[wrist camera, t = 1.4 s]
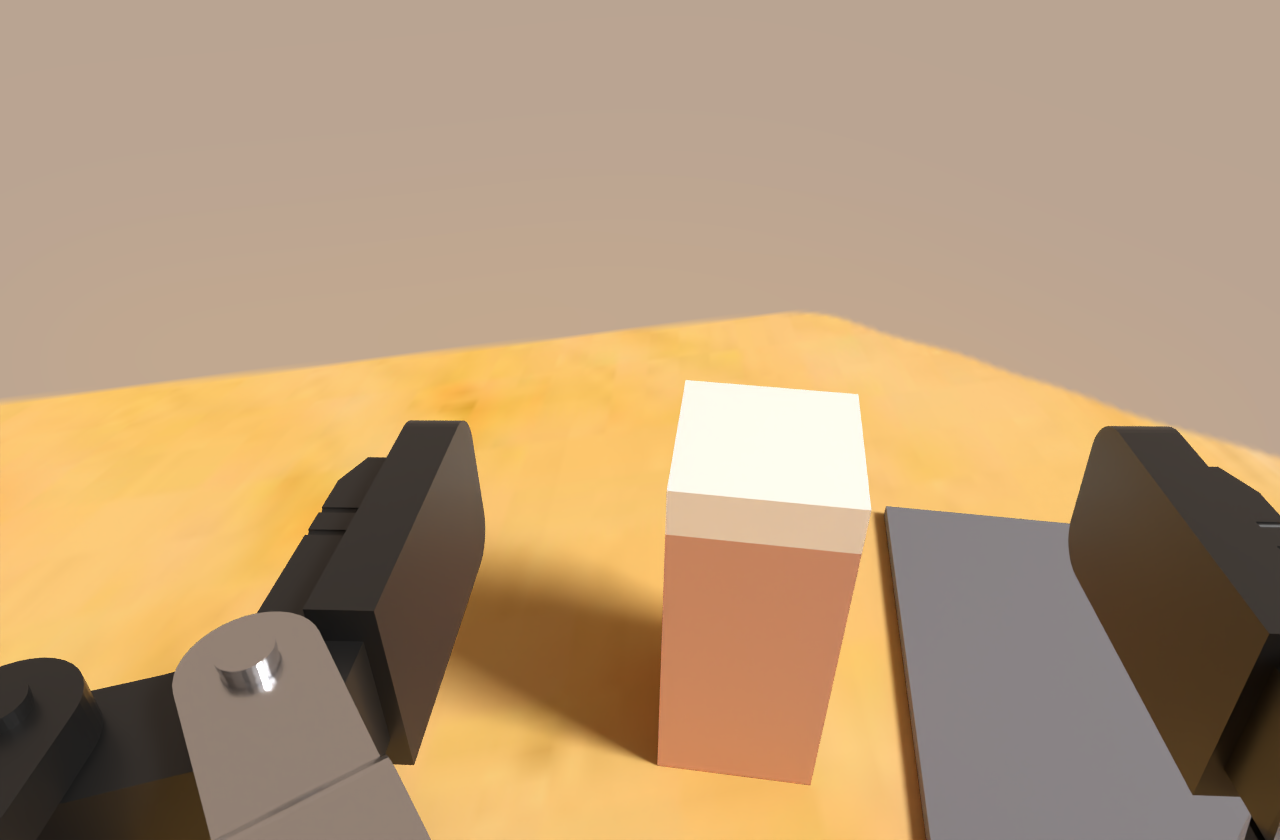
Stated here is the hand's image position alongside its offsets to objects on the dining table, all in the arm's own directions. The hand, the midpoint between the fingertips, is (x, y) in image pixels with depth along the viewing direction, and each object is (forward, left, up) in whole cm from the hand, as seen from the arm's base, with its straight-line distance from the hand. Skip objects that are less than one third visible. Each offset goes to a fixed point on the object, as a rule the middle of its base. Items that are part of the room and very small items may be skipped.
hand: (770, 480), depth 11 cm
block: (0, +10, -19) cm, 21 cm away
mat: (+13, +12, -19) cm, 26 cm away
